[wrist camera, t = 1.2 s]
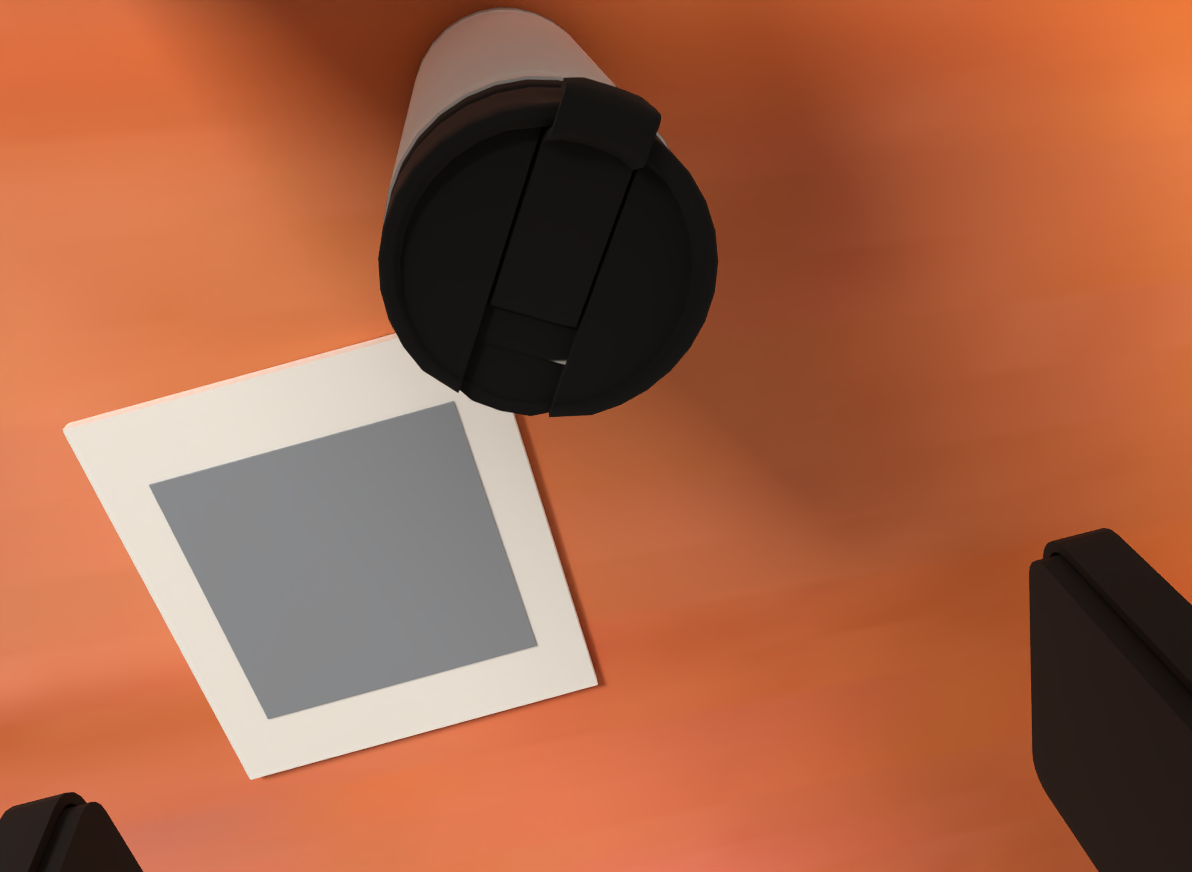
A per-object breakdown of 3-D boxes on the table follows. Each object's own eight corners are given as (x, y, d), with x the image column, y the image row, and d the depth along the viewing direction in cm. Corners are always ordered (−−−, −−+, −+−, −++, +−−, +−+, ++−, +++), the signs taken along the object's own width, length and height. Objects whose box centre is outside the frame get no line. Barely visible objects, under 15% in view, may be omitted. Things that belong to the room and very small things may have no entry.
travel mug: (625, 32, 36) (789, 150, 18) (564, 217, 39) (656, 479, 21) (444, -33, 35) (431, 28, 17) (393, 164, 37) (335, 398, 19)
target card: (67, 423, 40) (61, 431, 39) (481, 309, 40) (482, 316, 39) (252, 770, 48) (249, 781, 47) (596, 676, 48) (598, 686, 47)
